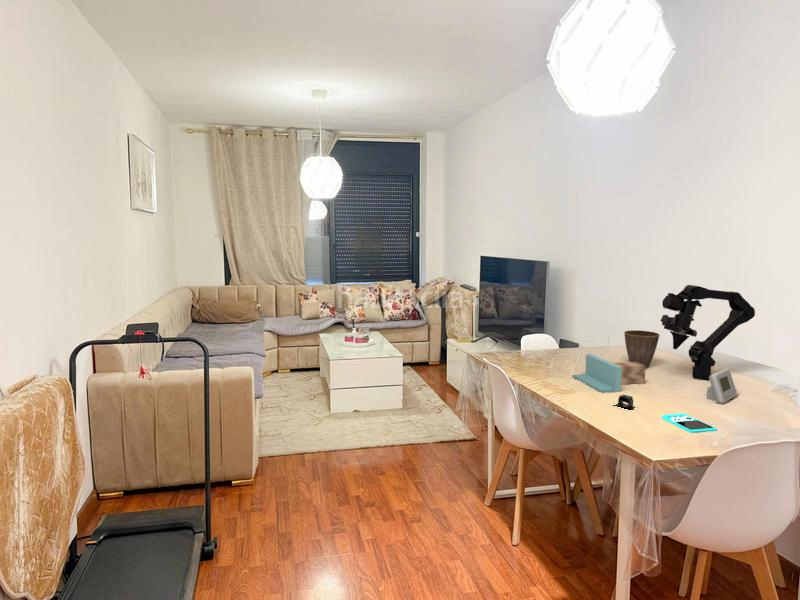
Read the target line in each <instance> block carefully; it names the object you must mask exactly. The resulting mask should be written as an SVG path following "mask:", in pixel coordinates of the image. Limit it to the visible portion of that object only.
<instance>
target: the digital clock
mask: <svg viewBox="0 0 800 600" xmlns="http://www.w3.org/2000/svg"><path fill="white" fill-rule="evenodd" d="M709 379H710V380H709V383H710V386H708V387H707V389H706V398H705V399H706V400H708V399H709V400H710V401H714V402H716V403H717V404H721V405H722V404H726V403H727V402H728V401H730V400H732V399H733V398H734V397H736V396H737V395H738V392H737V389H736V385H735V382H734V379H733V376H732V373H731V370H730V369H729V368H723V369H719V370H718V371H715V372H714V373H711V375H710V376H709ZM709 400H708V401H709Z"/></svg>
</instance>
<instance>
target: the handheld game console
mask: <svg viewBox="0 0 800 600" xmlns="http://www.w3.org/2000/svg"><path fill="white" fill-rule="evenodd" d="M661 419H662V420H664V421H666V422H667V423H670V424H672V425H673V426H676V427H678V428H680V429H681V430H683V431H686V432H688V433H689V434H695V433H708V432H716V431H718V428H716V427H715V426H712V425H711V424H708V423H706V422H704V421H701V420H699V419H698V418H695V417H693V416H690V415H688V414H686V413H684V412H682V413H670V414H668V413H667V414H663V415H661Z"/></svg>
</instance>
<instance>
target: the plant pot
mask: <svg viewBox="0 0 800 600" xmlns="http://www.w3.org/2000/svg"><path fill="white" fill-rule="evenodd" d="M659 338H660V334H659V333H658V332H654V331H648V330H639V329H638V330H635V329H634V330H626V331H624V341H625V342H624V343H625V347H626V353H627V358H628V360H629V361H628V362H638V363H640V364H643V365H645V366H646V369H648V368H649V366H650V365H651V363H652V361H653V359H654V355H655V353H656V349H657V345H658V343H659V340H660V339H659Z"/></svg>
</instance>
